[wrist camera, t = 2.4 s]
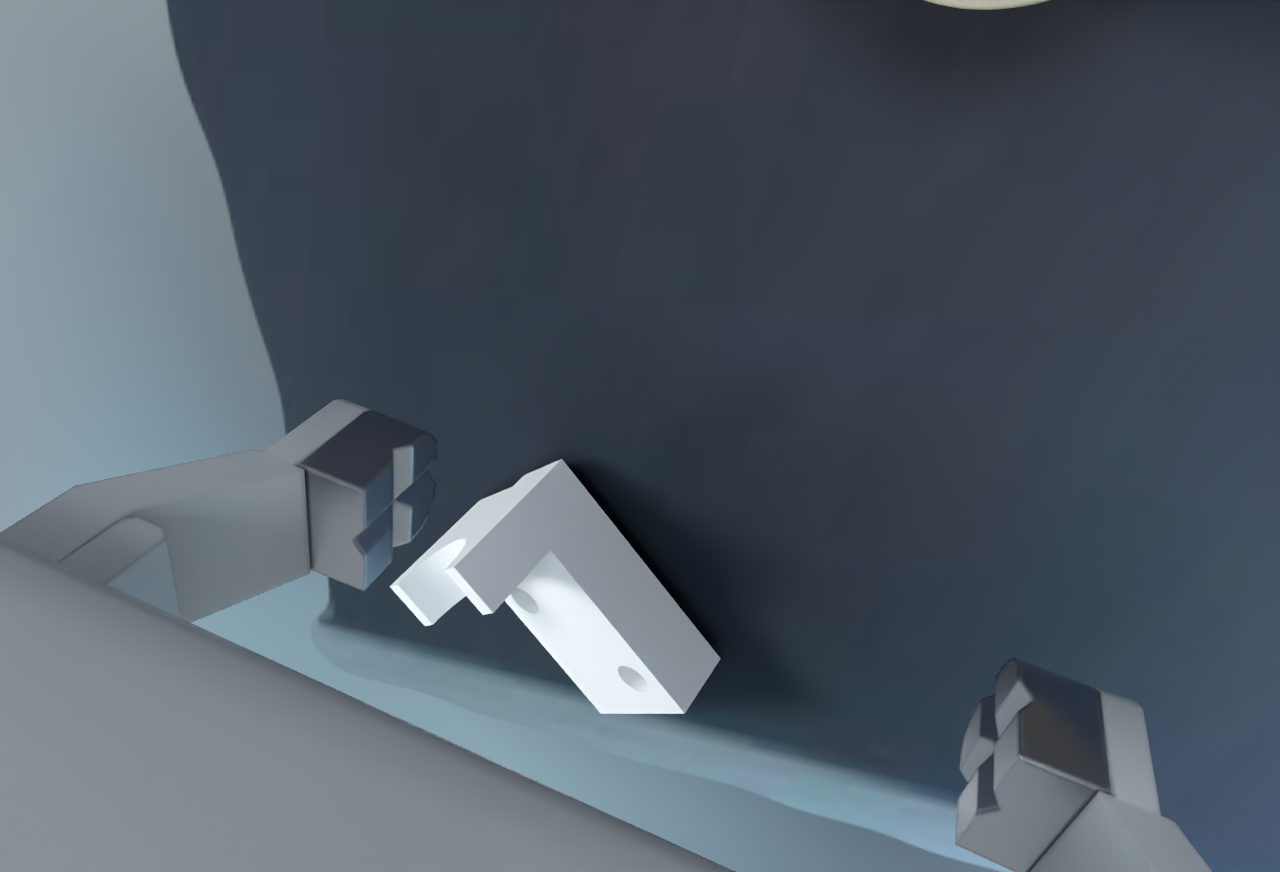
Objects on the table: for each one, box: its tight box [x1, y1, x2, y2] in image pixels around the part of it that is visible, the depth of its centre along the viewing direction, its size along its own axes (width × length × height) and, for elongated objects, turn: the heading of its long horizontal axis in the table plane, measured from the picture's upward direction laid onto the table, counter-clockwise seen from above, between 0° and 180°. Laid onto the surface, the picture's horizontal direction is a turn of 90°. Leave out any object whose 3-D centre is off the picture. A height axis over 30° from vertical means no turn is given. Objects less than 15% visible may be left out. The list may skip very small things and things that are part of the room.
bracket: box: [390, 459, 721, 714], centre depth 42 cm, size 13×7×8 cm, turn 39°
